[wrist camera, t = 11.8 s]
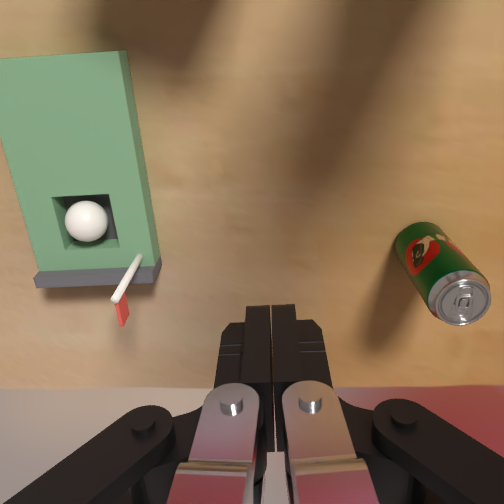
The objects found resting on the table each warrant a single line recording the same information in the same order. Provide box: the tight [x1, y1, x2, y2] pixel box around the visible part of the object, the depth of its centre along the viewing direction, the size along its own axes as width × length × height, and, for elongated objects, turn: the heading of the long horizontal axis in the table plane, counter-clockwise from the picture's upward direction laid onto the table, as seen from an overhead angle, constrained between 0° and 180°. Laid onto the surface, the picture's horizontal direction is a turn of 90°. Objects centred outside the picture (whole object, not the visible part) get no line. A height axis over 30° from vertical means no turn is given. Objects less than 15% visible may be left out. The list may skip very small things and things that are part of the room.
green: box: [0, 50, 162, 327], centre depth 40 cm, size 22×12×11 cm, turn 4°
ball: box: [65, 201, 108, 242], centre depth 45 cm, size 4×4×4 cm
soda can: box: [395, 222, 491, 326], centre depth 42 cm, size 5×5×12 cm
